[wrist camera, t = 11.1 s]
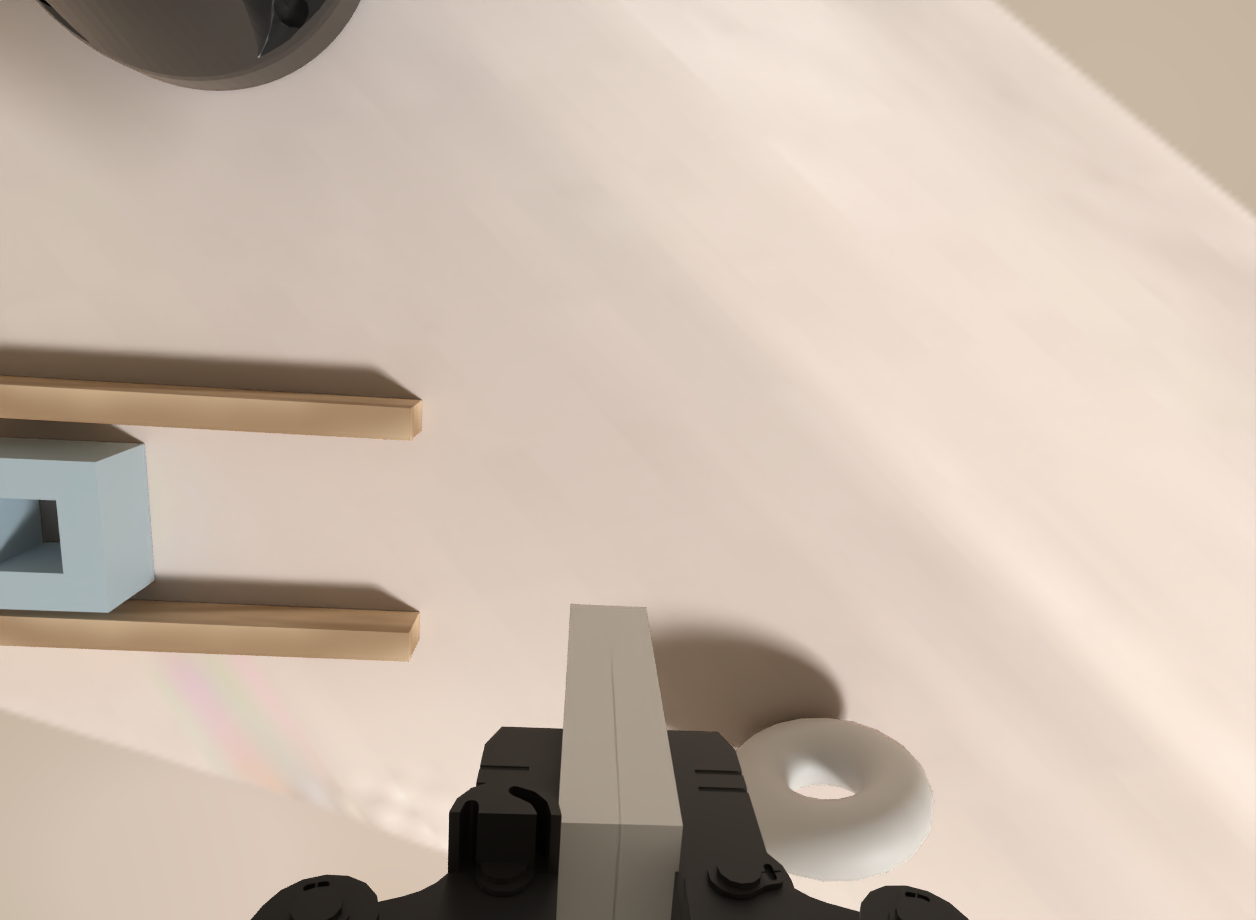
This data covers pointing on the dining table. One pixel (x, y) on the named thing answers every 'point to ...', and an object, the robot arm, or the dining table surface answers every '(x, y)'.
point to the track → (215, 622)
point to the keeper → (73, 524)
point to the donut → (836, 828)
